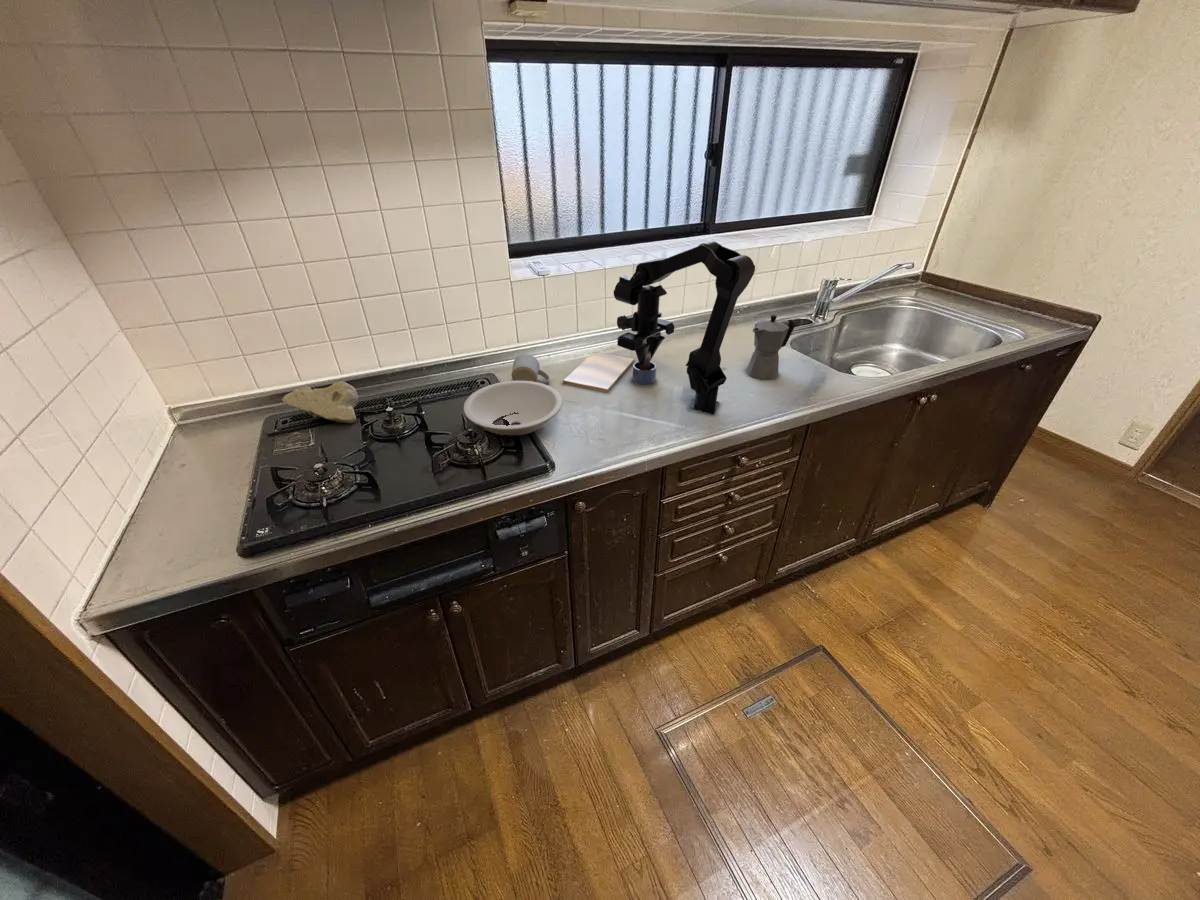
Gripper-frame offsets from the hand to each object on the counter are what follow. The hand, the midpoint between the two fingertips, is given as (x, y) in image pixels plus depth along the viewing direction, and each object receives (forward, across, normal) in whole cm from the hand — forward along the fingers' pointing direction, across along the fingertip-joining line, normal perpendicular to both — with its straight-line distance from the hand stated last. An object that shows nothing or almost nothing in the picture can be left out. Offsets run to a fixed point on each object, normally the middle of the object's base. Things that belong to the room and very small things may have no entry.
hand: (644, 362), depth 143 cm
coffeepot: (+6, -30, +23) cm, 38 cm away
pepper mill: (+6, 0, 0) cm, 6 cm away
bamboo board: (+6, +5, -13) cm, 15 cm away
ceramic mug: (+6, +23, -23) cm, 34 cm away
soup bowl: (+6, +41, -8) cm, 43 cm away
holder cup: (+6, 0, 0) cm, 6 cm away
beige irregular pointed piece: (+6, +73, -46) cm, 86 cm away
